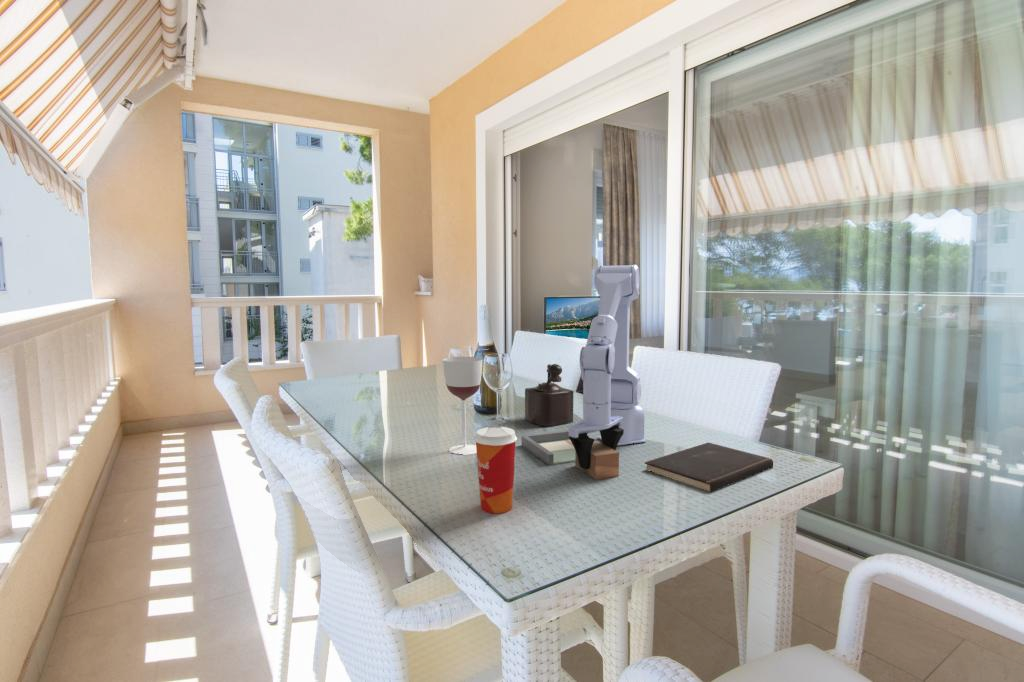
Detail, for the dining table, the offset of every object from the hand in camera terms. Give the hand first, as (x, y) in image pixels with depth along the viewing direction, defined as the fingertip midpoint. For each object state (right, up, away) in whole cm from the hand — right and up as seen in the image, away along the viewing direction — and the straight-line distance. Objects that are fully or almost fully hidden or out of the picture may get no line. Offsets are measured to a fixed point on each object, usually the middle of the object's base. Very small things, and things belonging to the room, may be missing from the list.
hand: (596, 464), depth 118 cm
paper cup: (-21, -4, -18) cm, 28 cm away
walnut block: (0, -1, 0) cm, 1 cm away
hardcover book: (+24, -2, +1) cm, 24 cm away
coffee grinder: (-6, +3, +39) cm, 40 cm away
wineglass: (-29, 0, +16) cm, 33 cm away
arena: (-5, 0, +14) cm, 15 cm away
